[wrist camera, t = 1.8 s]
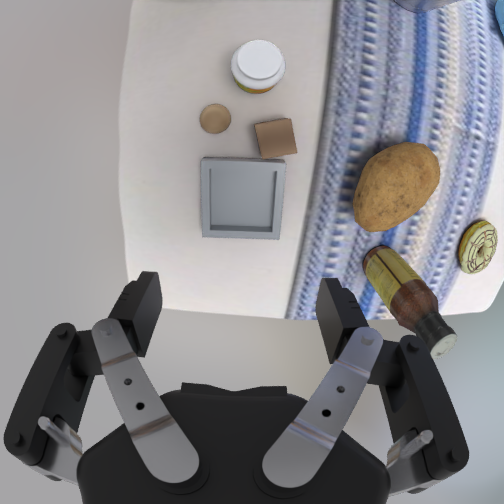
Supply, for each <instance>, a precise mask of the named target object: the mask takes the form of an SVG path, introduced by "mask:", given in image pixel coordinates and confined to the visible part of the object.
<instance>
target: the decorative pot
mask: <svg viewBox="0 0 504 504" xmlns="http://www.w3.org/2000/svg"><path fill="white" fill-rule="evenodd" d="M495 16H496V19H497V20H498V23H499V26H500V30H501V32H502V34H503V36H504V0H498V1H497V3H496V5H495Z"/></svg>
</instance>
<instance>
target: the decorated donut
mask: <svg viewBox="0 0 504 504" xmlns="http://www.w3.org/2000/svg"><path fill="white" fill-rule="evenodd" d="M497 241H498V240H497V230H496V228H495V227H494V226H493V225H491V224H490V223H489V222H487V221H481V222H478V223H475V224H474V225H472V226H471V227H470V228H469V229H468V230H467V231H466V233H465V234H464V235H463V238H462V240H461V243H460V246H459V260H460V264H461V269H462V271H463V272H465V273H468V274H475V273H478V272H480V271H482V270H483V269H485V268H486V267H487V266H488V264H489V262H490V261H491V259H492V257H493V255H494V253H495V250H496V245H497Z"/></svg>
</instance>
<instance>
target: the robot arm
mask: <svg viewBox="0 0 504 504" xmlns="http://www.w3.org/2000/svg"><path fill="white" fill-rule="evenodd" d="M394 1H395V2H396V3H398V4H399V5H401V6H402V7H403V8H405V9H407V10H409V11H412V12H415V13H425V12H427V11H430V10H433V9H436V8H439V7H442V6H445V5H448V4H451V3H454V2H457V1H461V0H394ZM161 309H162V293H161V287H160V281H159V275H158V273H157V272H148V271H142V272H141V274H140V276H139V278H138V279H137V281H131V282H130V283H129V284H128V285H126V286H125V288H124V290H123V292H122V294H121V295H120V297H119V298H118V300H117V302H116V304H115V305H114V307H113V309H112V311H111V313H110V315H109V316H108V318H106V319H102V320H100V321H98V322H97V323H96V324H95V325H94V326H93V328H92V330H86V331H76V329H75V327H74V325H72V324H70V323H61V324H59V325H57V326H55V327H54V328H53V329H52V331H51V332H50V334H49V336H48V338H47V339H46V341H45V343H44V345H43V347H42V349H41V350H40V352H39V354H38V356H37V358H36V360H35V362H34V364H33V366H32V368H31V370H30V372H29V374H28V376H27V378H26V381H25V383H24V385H23V387H22V389H21V392H20V394H19V396H18V399H17V401H16V403H15V406H14V408H13V411H12V413H11V416H10V419H9V422H8V424H7V427H6V430H5V433H4V444H5V446H6V449H7V450H8V451H9V452H10V453H11V454H12V455H14V456H15V457H16V458H18V459H19V460H21V461H22V462H23V463H24V464H25V465H27V466H28V467H30V468H32V469H33V470H35V471H36V472H38V473H40V474H42V475H44V476H46V477H48V478H50V479H51V480H54V481H61V480H64V481H67V482H70V483H72V484H75V485H78V486H79V489H80V492H81V496H82V501H83V504H386V502H387V499H388V497H390V496H394V495H397V494H400V493H404V492H408V493H412V494H416V493H419V492H421V491H423V490H425V489H427V488H429V487H431V486H433V485H435V484H437V483H439V482H441V481H443V480H445V479H446V478H448V477H450V476H452V475H453V474H455V473H457V472H458V471H460V470H461V469H463V468H464V467H465V466H466V464H467V462H468V459H469V450H468V446H467V443H466V440H465V437H464V434H463V431H462V428H461V426H460V423H459V420H458V417H457V415H456V412H455V409H454V407H453V404H452V402H451V399H450V397H449V394H448V392H447V390H446V387H445V385H444V383H443V380H442V378H441V376H440V374H439V372H438V369H437V367H436V365H435V363H434V361H433V358H432V356H431V354H430V352H429V350H428V348H427V346H426V344H425V343H424V341H423V340H422V339H420V338H419V337H417V336H414V335H406V336H403V337H402V338H401V340H400V342H393V341H387V340H384V339H383V338H382V336H381V334H380V333H379V332H378V331H377V330H375V329H373V328H370V327H369V325H368V323H367V321H366V319H365V317H364V314H363V312H362V310H361V308H360V306H359V304H358V303H357V300H356V298H355V296H354V294H353V293H352V292H351V291H350V290H349V289H348V288H342V286H341V284H340V282H339V280H338V278H322V280H321V283H320V288H319V292H318V297H317V301H316V316H317V319H318V322H319V326H320V329H321V333H322V337H323V340H324V344H325V347H326V351H327V355H328V359H329V363H330V364H333V365H332V366H331V368H330V369H329V371H328V373H327V374H326V376H325V377H324V379H323V380H322V382H321V383H320V385H319V386H318V388H317V389H316V391H315V392H314V394H313V395H312V396H311V398H310V399H309V401H307V400H305V399H303V398H301V397H299V396H296V395H293V394H288V393H287V387H286V386H268V387H267V386H264V387H263V386H262V387H256V388H252V389H246V390H241V391H229V390H225V389H221V388H218V387H214V386H211V385H206V384H193V383H182V386H181V390H175V391H171V392H168V393H165V394H163V395H161V396H159V395H158V394H157V392H156V390H155V388H154V387H153V385H152V383H151V381H150V380H149V378H148V376H147V374H146V373H145V371H144V369H143V367H142V365H141V363H140V361H139V359H138V357H145V355H146V352H147V349H148V346H149V343H150V340H151V337H152V334H153V331H154V328H155V326H156V323H157V320H158V317H159V314H160V312H161ZM95 375H104V376H105V379H106V381H107V384H108V386H109V389H110V391H111V394H112V396H113V399H114V401H115V403H116V405H117V408H118V410H119V412H120V414H121V416H122V419H123V421H124V424H122V425H121V426H119V427H118V428H117V429H115V430H114V431H113V432H111V433H110V434H109V435H107V436H106V437H104V438H103V439H102V440H100V441H99V442H98V443H96V444H95V445H94V446H92V447H91V448H89V449H88V450H87V451H86V452H84V454H82V440H81V438H80V437H79V435H78V434H77V432H78V428H79V425H80V421H81V417H82V414H83V411H84V407H85V404H86V401H87V397H88V395H89V392H90V388H91V385H92V383H93V380H94V377H95ZM366 383H368V384H374V385H379V388H380V392H381V395H382V399H383V402H384V406H385V410H386V414H387V418H388V421H389V426H390V430H391V434H392V438H393V443H394V444H393V445H392V446H391V448H390V449H389V451H388V454H387V465H386V466H385V465H384V464H383V463H382V462H381V461H380V460H379V459H378V458H377V457H375V456H374V455H373V454H371V453H370V452H369V451H368V450H366V449H365V448H364V447H362V446H361V445H360V444H359V443H358V442H356V441H355V440H354V439H353V438H351V437H350V436H349V435H348V434H347V433H345V432H344V431H343V430H342V429H343V428H344V426H345V424H346V422H347V421H348V419H349V417H350V415H351V413H352V411H353V409H354V407H355V405H356V404H357V401H358V400H359V398H360V396H361V394H362V392H363V390H364V387H365V385H366Z"/></svg>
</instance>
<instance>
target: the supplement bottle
mask: <svg viewBox="0 0 504 504" xmlns="http://www.w3.org/2000/svg"><path fill="white" fill-rule="evenodd" d="M285 69H286V62H285V58H284V56H283V54H282V52H281V51H280V50H279V49H278V48H277V47H276V46H275V45H274V44H273V43H271V42H269V41H265V40H253V41H250V42H248V43H245V44H243V45H242V46H240V47H239V48H238V49H237V50H236V51H235V53H234V54H233V56H232V60H231V70H232V73H233V76H234V79H235V81H236V83H237V85H238V86H239V87H240V88H241V89H243V90H244V91H246V92H249V93H253V94H260V93H264V92H267V91H269V90H270V89H272V88H273V87H274V86H275V85H276V84H277V83H278V82H279V81H280V80H281V78H282V77H283V75H284V73H285Z"/></svg>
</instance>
